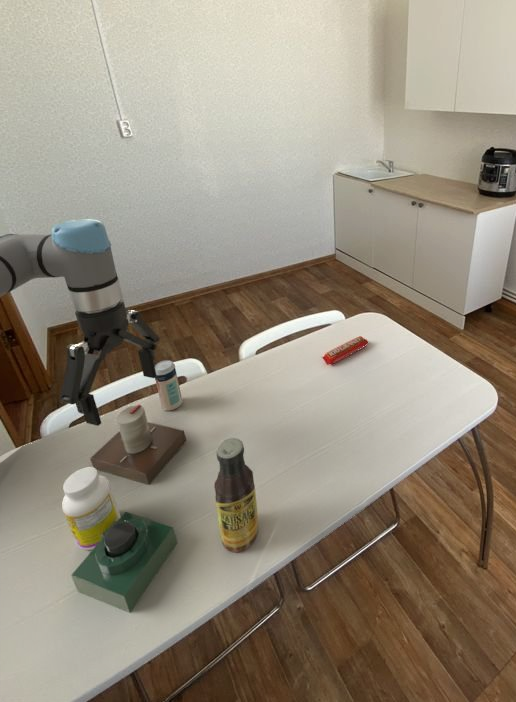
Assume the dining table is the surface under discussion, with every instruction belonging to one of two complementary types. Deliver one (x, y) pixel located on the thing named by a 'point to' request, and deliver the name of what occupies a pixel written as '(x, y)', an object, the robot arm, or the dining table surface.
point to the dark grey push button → (120, 539)
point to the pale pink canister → (168, 385)
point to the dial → (134, 429)
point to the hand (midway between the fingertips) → (124, 397)
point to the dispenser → (126, 564)
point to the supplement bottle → (89, 507)
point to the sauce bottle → (235, 497)
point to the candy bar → (344, 350)
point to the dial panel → (140, 455)
